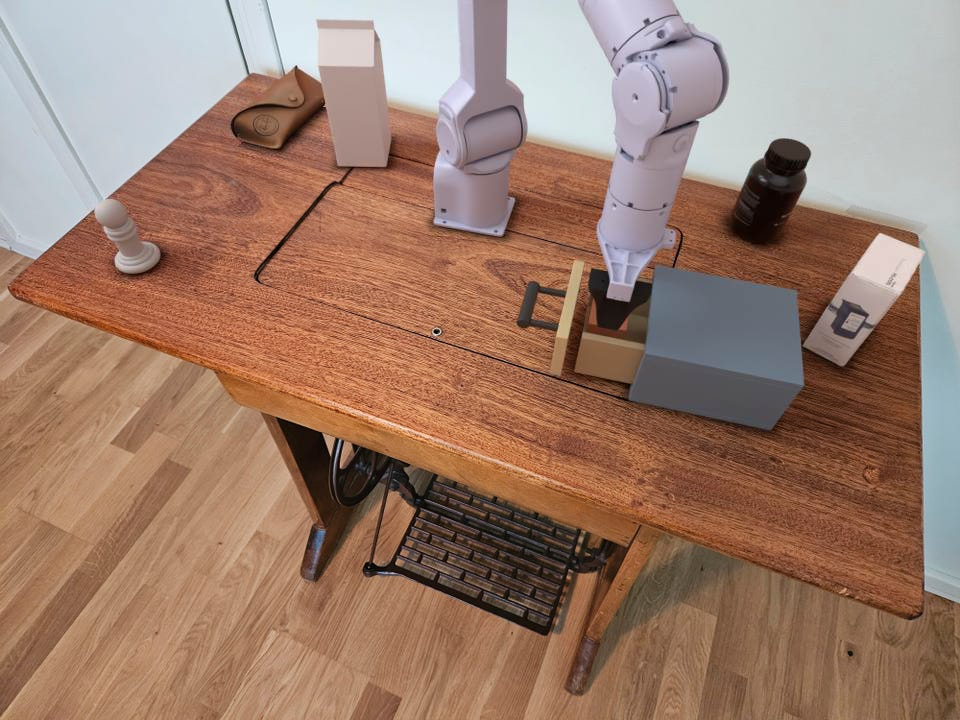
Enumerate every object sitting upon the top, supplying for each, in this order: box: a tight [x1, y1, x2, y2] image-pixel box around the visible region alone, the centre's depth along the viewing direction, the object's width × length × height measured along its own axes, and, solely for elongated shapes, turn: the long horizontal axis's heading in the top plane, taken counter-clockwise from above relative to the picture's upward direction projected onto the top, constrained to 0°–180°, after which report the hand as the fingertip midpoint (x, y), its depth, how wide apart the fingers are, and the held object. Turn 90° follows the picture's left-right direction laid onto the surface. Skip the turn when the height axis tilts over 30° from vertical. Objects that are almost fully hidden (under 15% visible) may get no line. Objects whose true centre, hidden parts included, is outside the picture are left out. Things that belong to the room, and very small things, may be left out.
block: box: [586, 298, 629, 340], centre depth 67 cm, size 4×4×4 cm
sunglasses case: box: [230, 65, 326, 150], centre depth 97 cm, size 18×7×7 cm
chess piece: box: [93, 198, 161, 275], centre depth 74 cm, size 5×5×9 cm
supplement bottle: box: [728, 137, 812, 244], centre depth 78 cm, size 7×7×12 cm
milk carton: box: [315, 18, 392, 168], centre depth 84 cm, size 7×7×19 cm
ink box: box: [802, 232, 926, 367], centre depth 67 cm, size 8×5×12 cm, turn 140°
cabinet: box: [628, 264, 805, 431], centre depth 65 cm, size 15×13×8 cm
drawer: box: [516, 259, 653, 385], centre depth 67 cm, size 18×11×6 cm, turn 76°
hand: (612, 298), depth 63 cm, fingers open, 7 cm apart
